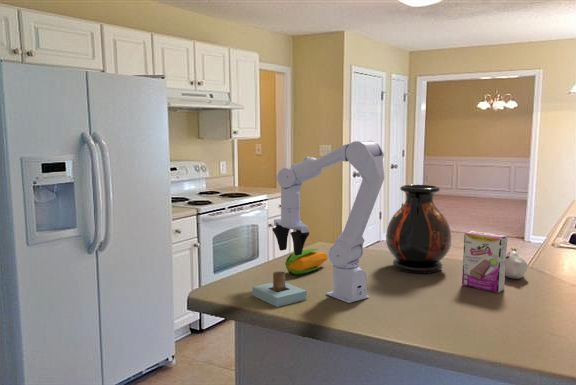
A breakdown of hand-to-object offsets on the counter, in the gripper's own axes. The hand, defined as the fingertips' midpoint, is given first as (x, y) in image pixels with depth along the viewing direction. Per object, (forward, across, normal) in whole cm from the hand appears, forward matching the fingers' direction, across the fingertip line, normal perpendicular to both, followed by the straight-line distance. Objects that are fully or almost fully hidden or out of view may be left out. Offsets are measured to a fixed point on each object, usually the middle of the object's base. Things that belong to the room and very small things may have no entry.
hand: (290, 252), depth 153 cm
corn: (+10, +9, -14) cm, 19 cm away
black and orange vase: (+10, -11, -46) cm, 48 cm away
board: (+10, -8, +10) cm, 16 cm away
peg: (+10, -8, +10) cm, 16 cm away
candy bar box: (+10, -37, -44) cm, 58 cm away
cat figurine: (+10, -36, -62) cm, 72 cm away
